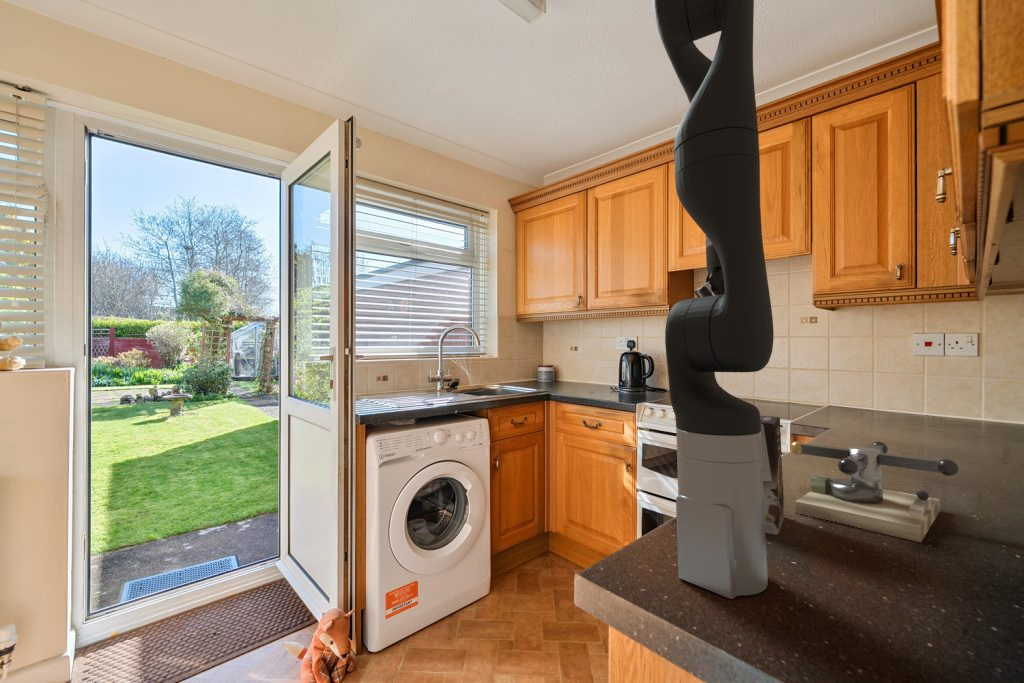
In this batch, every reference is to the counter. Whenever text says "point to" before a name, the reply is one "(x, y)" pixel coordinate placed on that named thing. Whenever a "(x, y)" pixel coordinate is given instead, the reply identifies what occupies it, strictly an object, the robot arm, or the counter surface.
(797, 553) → the counter surface
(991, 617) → the counter surface
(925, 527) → the stand
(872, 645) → the counter surface
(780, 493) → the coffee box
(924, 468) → the capstan
